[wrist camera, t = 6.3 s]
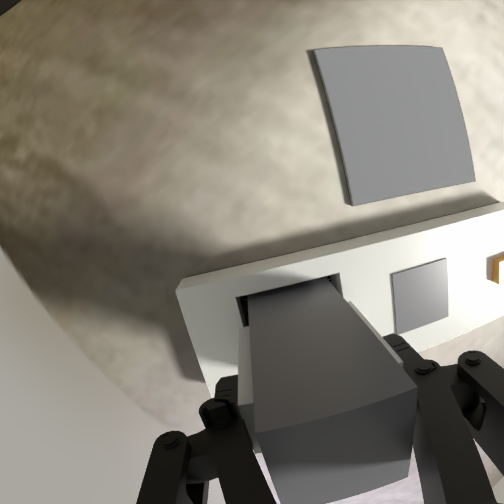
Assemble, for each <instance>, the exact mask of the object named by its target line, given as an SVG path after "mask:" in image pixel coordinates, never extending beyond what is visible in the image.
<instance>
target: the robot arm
mask: <svg viewBox="0 0 504 504" xmlns="http://www.w3.org/2000/svg"><path fill="white" fill-rule="evenodd" d="M18 1H20V0H0V15H1V14H2V13H4V12H5V11H7V10H8V9H9V8H11V7H12V6H13V5H15V4H16V3H17V2H18ZM348 303H349V305H350V306H351V307H352V308H353V309H354V310H355V312H356V313H357V314H358V315H359V316H360V318H361V319H362V320H363V321H364V322H365V323H366V325H367V326H368V327H369V328H370V329H371V331H372V332H373V333H374V334H375V335H376V337H377V338H378V339H379V340H380V341H381V343H382V344H383V345H384V346H385V347H386V349H387V350H388V351H389V352H390V353H391V355H392V356H393V357H394V358H395V360H396V361H397V362H398V363H399V364H400V366H401V367H402V368H403V369H404V371H405V372H406V373H407V374H408V375H409V377H410V378H411V379H412V380H413V382H414V383H415V384H416V385H417V387H418V390H417V405H416V417H415V427H414V436H413V449H414V453H415V458H416V462H417V467H418V472H419V477H420V482H421V487H422V493H423V499H424V504H500V503H497V502H496V499H495V497H494V494H493V491H492V488H491V485H490V482H489V479H488V476H487V473H486V471H485V468H484V465H483V463H482V460H481V457H480V455H479V452H478V450H477V447H476V445H475V442H474V440H473V438H474V439H475V441H476V442H477V443H478V444H479V446H480V447H481V448H482V449H483V451H484V452H485V453H486V454H487V456H488V457H489V458H490V459H491V461H492V462H493V463H494V464H495V466H496V467H497V468H498V469H499V471H500V472H501V473H502V475H503V476H504V369H503V368H502V367H501V366H499V365H498V364H497V363H496V362H494V361H493V360H492V359H491V358H489V357H488V356H487V355H486V354H484V353H482V352H480V351H468V352H464V353H463V354H461V355H460V356H459V358H458V364H454V365H449V366H440V365H439V364H438V363H437V362H435V361H433V360H427V359H426V360H424V359H423V358H422V357H421V356H420V355H419V354H418V353H417V352H416V351H415V350H414V349H413V348H412V347H411V346H410V344H409V343H407V341H406V340H405V339H404V338H403V337H402V336H399V335H397V334H394V333H392V334H389V335H386V336H383V337H382V336H381V335H380V334H379V333H378V332H377V330H376V329H375V328H374V327H373V326H372V325H371V324H370V322H369V321H368V320H367V319H366V318H365V317H364V316H363V314H362V313H361V312H360V311H359V310H358V309H357V308H356V307H355V305H354V304H353V303H352V302H351V301H349V302H348ZM199 414H200V417H201V419H202V421H203V423H204V426H205V428H206V429H204V430H203V431H201V432H199V433H196V434H193V435H191V436H188V437H187V436H186V435H185V434H184V433H183V432H180V431H170V432H166V433H164V434H162V435H160V436H159V437H158V438H157V439H156V441H155V443H154V445H153V449H152V452H151V455H150V458H149V462H148V465H147V468H146V472H145V475H144V479H143V482H142V485H141V489H140V492H139V496H138V499H137V503H136V504H207V500H208V489H209V480H212V479H215V478H219V481H220V485H221V488H222V492H223V495H224V499H225V502H226V504H276V501H275V499H274V497H273V495H272V493H271V491H270V488H269V486H268V484H267V482H266V479H265V477H264V475H263V473H262V470H261V468H260V466H259V464H258V461H257V459H256V457H255V454H256V453H262V451H261V448H260V445H259V442H258V439H257V437H256V434H255V420H254V403H253V386H252V369H251V351H250V334H249V326H247V327H242V328H239V338H238V374H237V375H232V376H226V377H221V378H220V379H219V381H218V382H217V384H216V387H215V396H214V398H212V399H209V400H207V401H206V402H204V403H203V404H202V405H201V407H200V408H199ZM253 450H254V452H255V454H254V452H253Z"/></svg>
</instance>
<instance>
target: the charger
mask: <svg viewBox="0 0 504 504" xmlns="http://www.w3.org/2000/svg"><path fill="white" fill-rule="evenodd" d="M247 297H248V315H249V334H250V351H251V369H252V386H253V403H254V420H255V434H256V437H257V439H258V442H259V445H260V448H261V451H262V454H263V457H264V459H265V462H266V465H267V468H268V471H269V473H270V476H271V479H272V482H273V484H274V487H275V490H276V492H277V495H278V498H279V500H280V503H281V504H326V503H330V502H334V501H337V500H341V499H345V498H348V497H352V496H355V495H358V494H361V493H365V492H368V491H371V490H374V489H377V488H380V487H382V486H385V485H388V484H391V483H393V482H396V481H399V480H401V479H404V478H406V477H408V472H409V466H410V459H411V452H412V445H413V436H414V427H415V417H416V405H417V390H418V387H417V385H416V384H415V383H414V382H413V380H412V379H411V378H410V377H409V375H408V374H407V373H406V372H405V371H404V369H403V368H402V367H401V366H400V364H399V363H398V362H397V361H396V360H395V358H394V357H393V356H392V355H391V353H390V352H389V351H388V350H387V349H386V347H385V346H384V345H383V344H382V343H381V341H380V340H379V339H378V338H377V337H376V335H375V334H374V333H373V332H372V331H371V329H370V328H369V327H368V326H367V325H366V323H365V322H364V321H363V320H362V319H361V318H360V316H359V315H358V314H357V313H356V312H355V310H354V309H353V308H352V307H351V306H350V305H349V303H348V302H347V301H346V300H345V299H344V298H343V296H342V295H341V294H340V293H339V292H338V291H337V290H336V288H335V287H334V286H333V285H332V284H331V283H330V281H329V280H328V279H327V278H326V277H325V276H324V277H320V278H316V279H312V280H307V281H303V282H299V283H295V284H291V285H287V286H283V287H278V288H274V289H270V290H266V291H261V292H257V293H253V294H248V295H247Z"/></svg>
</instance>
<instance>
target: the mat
mask: <svg viewBox="0 0 504 504" xmlns="http://www.w3.org/2000/svg"><path fill="white" fill-rule="evenodd" d="M313 53H314V56H315V60H316V63H317V66H318V69H319V73H320V76H321V79H322V83H323V86H324V90H325V93H326V97H327V101H328V104H329V108H330V112H331V116H332V120H333V123H334V127H335V131H336V135H337V140H338V144H339V148H340V152H341V157H342V161H343V166H344V170H345V175H346V180H347V185H348V190H349V195H350V200H351V205H352V206H357V205H362V204H367V203H371V202H376V201H381V200H385V199H390V198H395V197H400V196H404V195H409V194H414V193H419V192H424V191H429V190H434V189H439V188H444V187H449V186H454V185H459V184H464V183H469V182H474V181H476V180H475V173H474V167H473V161H472V155H471V150H470V145H469V140H468V135H467V130H466V126H465V122H464V117H463V113H462V109H461V106H460V102H459V98H458V95H457V91H456V88H455V84H454V81H453V78H452V75H451V71H450V68H449V65H448V62H447V59H446V57H445V54H444V51H443V48H441V47H424V46H357V47H340V48H327V49H317V50H314V51H313Z"/></svg>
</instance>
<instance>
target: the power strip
mask: <svg viewBox="0 0 504 504" xmlns="http://www.w3.org/2000/svg"><path fill="white" fill-rule="evenodd" d="M328 275H331V280H332V285H333V286H334V287H335V288H336V290H337V291H338V292H339V293H340V294H341V295H342V296H343V298H344V299H345V300H346V301H347V302H349V301H351V302H352V303H353V304H354V305H355V307H356V308H357V309H358V310H359V311H360V312H361V313H362V314H363V316H364V317H365V318H366V319H367V320H368V321H369V322H370V324H371V325H372V326H373V327H374V328H375V329H376V330H377V332H378V333H379V334H380V335H381V336H382V337H383V336H386V335H389V334H392V333H394V334H397V335H399V336H402V337H403V338H404V339H405V340H406V341H407V343H409V344H410V346H411V347H412V348H413V349H414V350H415V351H416V352H417V353H419V352H421V351H424V350H426V349H429V348H431V347H434V346H436V345H439V344H441V343H444V342H446V341H449V340H451V339H453V338H456V337H458V336H460V335H463V334H465V333H467V332H469V331H472V330H474V329H476V328H478V327H480V326H482V325H485V324H487V323H489V322H491V321H493V320H495V319H497V318H499V317H501V316H503V315H504V202H499V203H495V204H491V205H487V206H483V207H479V208H475V209H471V210H467V211H463V212H459V213H455V214H451V215H447V216H443V217H439V218H435V219H431V220H427V221H423V222H419V223H415V224H411V225H407V226H403V227H399V228H395V229H390V230H386V231H382V232H378V233H374V234H370V235H366V236H362V237H357V238H353V239H349V240H345V241H341V242H337V243H332V244H328V245H324V246H320V247H316V248H311V249H307V250H303V251H299V252H295V253H290V254H286V255H282V256H278V257H273V258H269V259H265V260H260V261H256V262H252V263H248V264H243V265H239V266H235V267H230V268H226V269H222V270H217V271H213V272H209V273H204V274H200V275H195V276H191V277H187V278H183V279H182V280H181V282H180V284H179V285H178V287H177V288H176V290H175V292H176V295H177V298H178V302H179V305H180V308H181V311H182V314H183V317H184V321H185V324H186V327H187V330H188V333H189V336H190V339H191V342H192V345H193V347H194V350H195V353H196V356H197V359H198V362H199V365H200V367H201V370H202V373H203V376H204V378H205V381H206V384H207V387H208V389H209V392H210V395H211V397H212V398H214V396H215V387H216V384H217V382H218V381H219V379H220V378H221V377H226V376H232V375H237V374H238V338H239V328H242V327H247V324H246V320H245V316H244V312H243V309H242V305H241V301H240V297H239V296H244V295H248V294H253V293H257V292H261V291H266V290H270V289H274V288H278V287H283V286H287V285H291V284H295V283H299V282H303V281H307V280H312V279H316V278H320V277H324V276H328Z"/></svg>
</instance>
